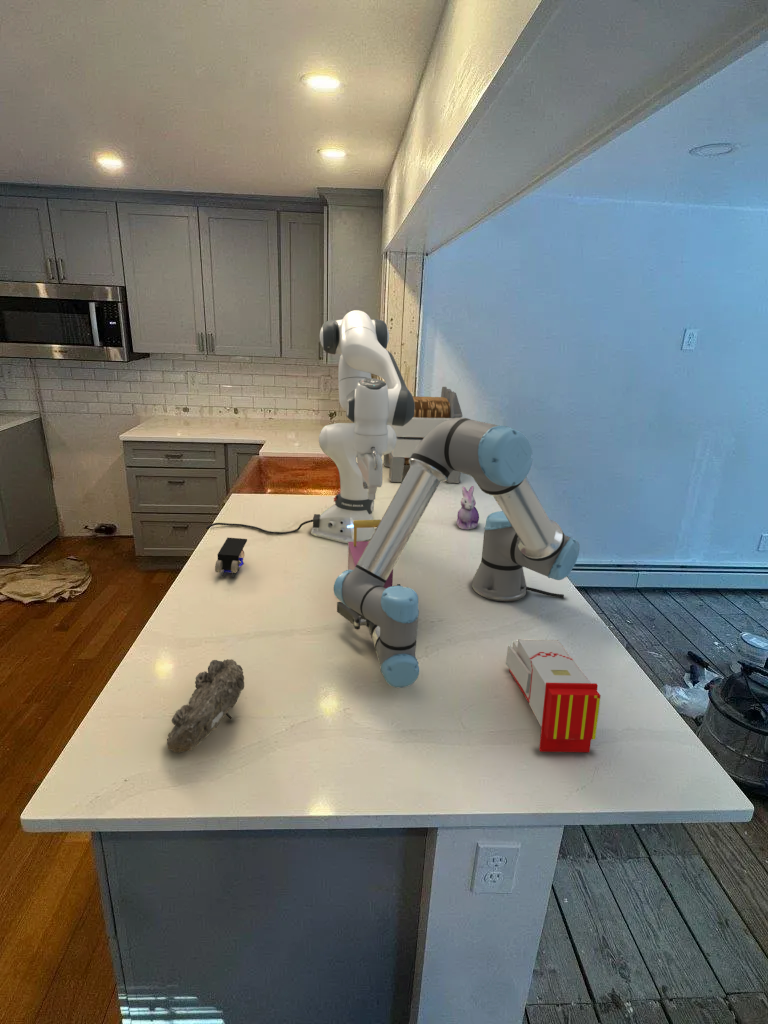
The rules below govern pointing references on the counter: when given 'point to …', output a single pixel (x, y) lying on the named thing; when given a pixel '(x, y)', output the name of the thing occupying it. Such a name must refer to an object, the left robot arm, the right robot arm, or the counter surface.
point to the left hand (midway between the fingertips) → (368, 493)
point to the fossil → (206, 705)
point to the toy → (556, 694)
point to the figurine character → (230, 556)
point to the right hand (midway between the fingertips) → (372, 589)
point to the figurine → (468, 510)
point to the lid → (359, 546)
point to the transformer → (422, 431)
